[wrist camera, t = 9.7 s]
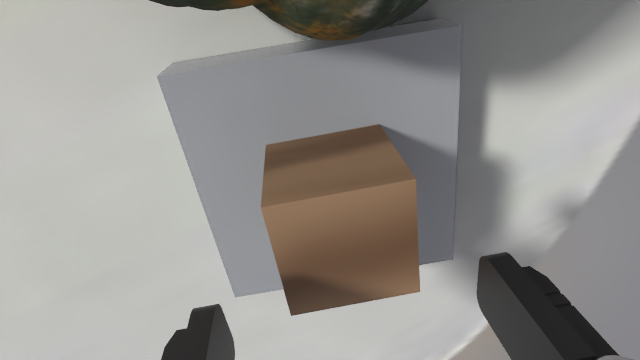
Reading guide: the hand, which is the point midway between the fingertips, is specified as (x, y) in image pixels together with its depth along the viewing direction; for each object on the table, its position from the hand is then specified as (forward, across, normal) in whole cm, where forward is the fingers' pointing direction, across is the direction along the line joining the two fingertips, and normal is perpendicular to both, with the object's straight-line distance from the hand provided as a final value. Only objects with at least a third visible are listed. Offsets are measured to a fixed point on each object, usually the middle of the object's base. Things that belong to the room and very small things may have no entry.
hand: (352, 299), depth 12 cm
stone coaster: (+9, 0, 0) cm, 9 cm away
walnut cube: (+7, 0, 0) cm, 7 cm away
